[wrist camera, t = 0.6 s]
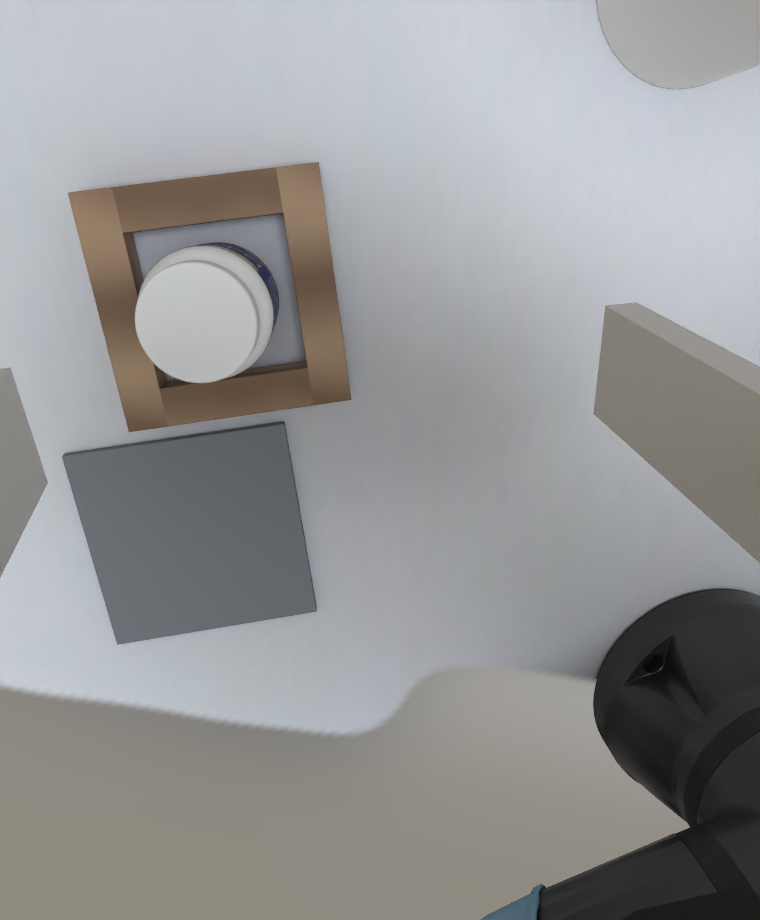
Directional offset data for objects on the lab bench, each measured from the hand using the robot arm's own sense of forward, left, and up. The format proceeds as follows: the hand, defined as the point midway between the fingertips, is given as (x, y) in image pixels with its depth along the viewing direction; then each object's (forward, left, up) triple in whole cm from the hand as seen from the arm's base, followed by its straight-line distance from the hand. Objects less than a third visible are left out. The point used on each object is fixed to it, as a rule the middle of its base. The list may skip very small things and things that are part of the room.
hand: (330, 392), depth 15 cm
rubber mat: (-13, +9, -22) cm, 27 cm away
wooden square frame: (0, +5, -22) cm, 23 cm away
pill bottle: (0, +5, -22) cm, 23 cm away
